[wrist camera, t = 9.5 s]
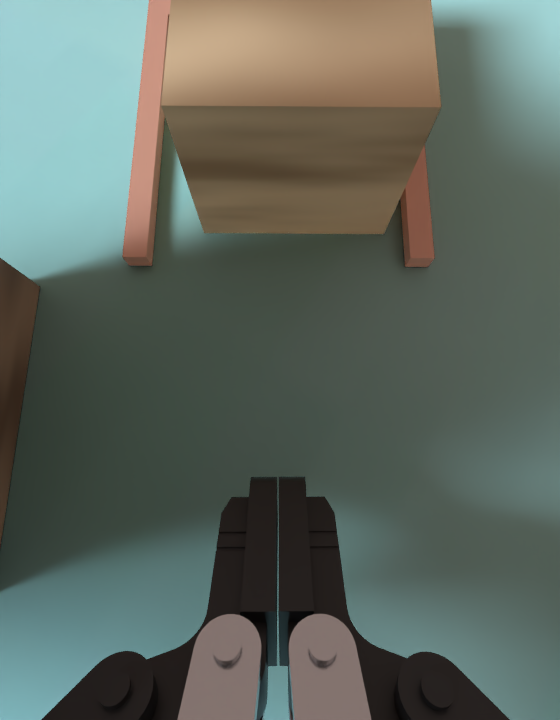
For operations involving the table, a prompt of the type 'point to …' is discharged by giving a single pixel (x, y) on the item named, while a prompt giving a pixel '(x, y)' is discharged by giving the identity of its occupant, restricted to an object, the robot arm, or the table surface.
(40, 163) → the table surface
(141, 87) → the terracotta frame
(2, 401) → the wooden l-shaped stand
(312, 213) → the oak block
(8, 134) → the table surface
